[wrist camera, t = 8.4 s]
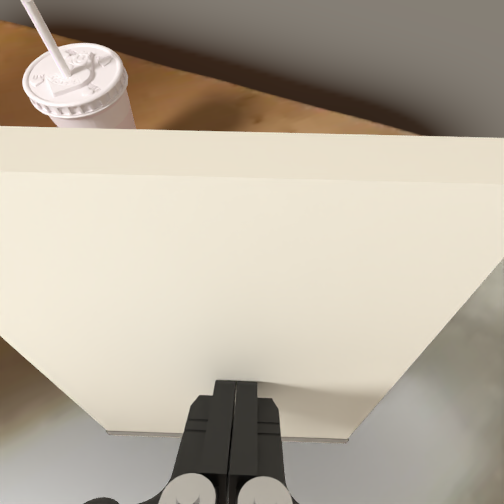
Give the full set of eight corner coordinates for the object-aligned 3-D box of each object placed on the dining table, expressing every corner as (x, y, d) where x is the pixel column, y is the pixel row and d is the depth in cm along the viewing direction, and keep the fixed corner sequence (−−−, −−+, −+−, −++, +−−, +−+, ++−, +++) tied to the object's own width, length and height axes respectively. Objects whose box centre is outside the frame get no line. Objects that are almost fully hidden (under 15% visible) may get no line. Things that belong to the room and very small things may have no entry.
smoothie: (75, 191, 29) (-62, 18, 16) (108, 139, 31) (13, -44, 19) (143, 207, 28) (55, 38, 15) (171, 153, 31) (115, -29, 18)
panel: (110, 436, 17) (-197, 168, 5) (120, 404, 18) (-117, 121, 6) (344, 444, 17) (571, 187, 5) (339, 411, 18) (517, 137, 6)
